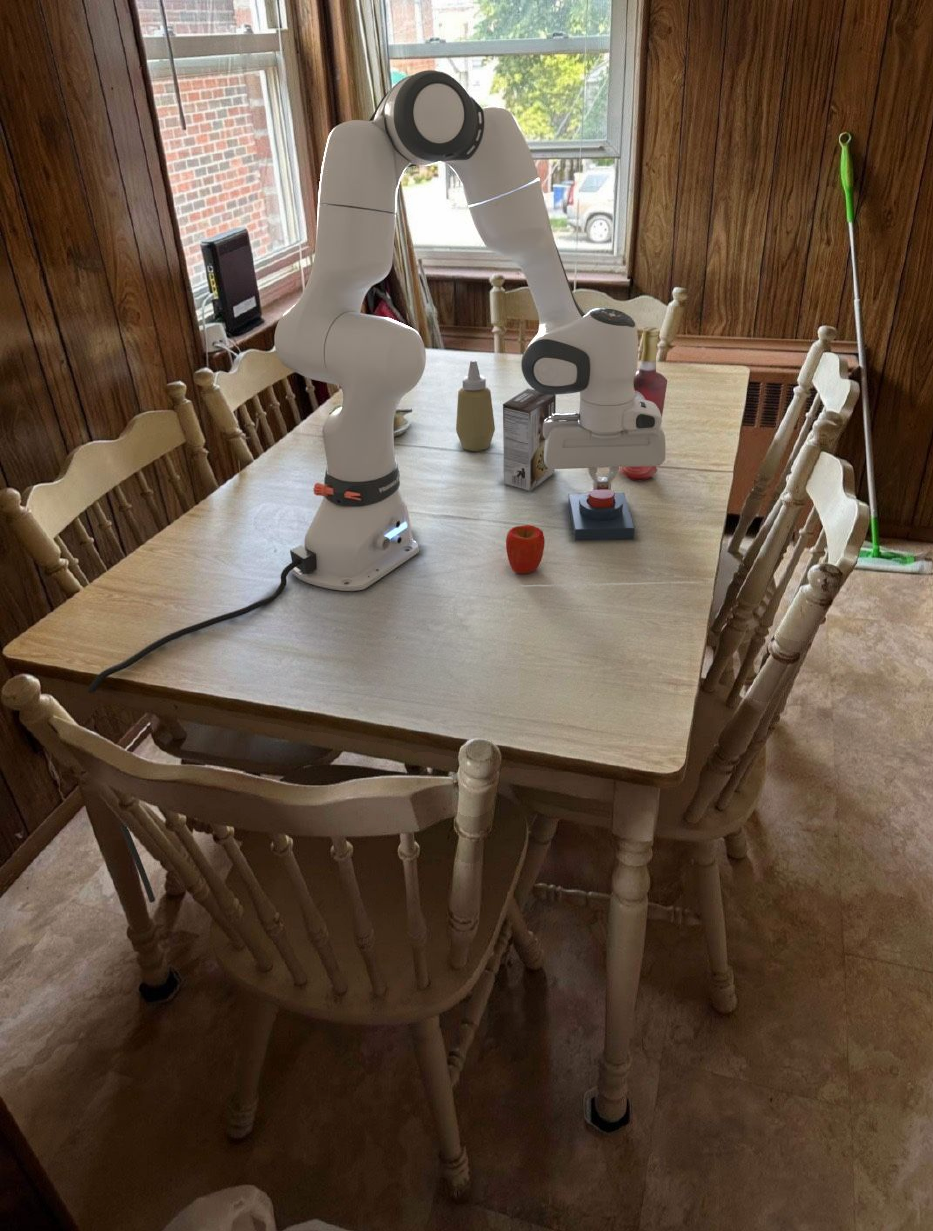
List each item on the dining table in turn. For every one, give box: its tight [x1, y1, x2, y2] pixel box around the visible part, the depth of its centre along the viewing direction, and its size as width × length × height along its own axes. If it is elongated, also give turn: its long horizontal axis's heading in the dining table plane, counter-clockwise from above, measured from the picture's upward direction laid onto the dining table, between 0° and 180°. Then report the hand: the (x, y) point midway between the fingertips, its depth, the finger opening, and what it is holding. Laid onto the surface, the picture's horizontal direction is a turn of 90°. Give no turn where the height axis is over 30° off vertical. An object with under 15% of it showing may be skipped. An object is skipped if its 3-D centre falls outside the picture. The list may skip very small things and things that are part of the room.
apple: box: [505, 524, 546, 575], centre depth 141 cm, size 6×6×8 cm
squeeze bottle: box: [455, 359, 496, 452], centre depth 178 cm, size 8×8×18 cm
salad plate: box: [328, 405, 413, 438], centre depth 191 cm, size 19×18×5 cm
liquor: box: [620, 326, 668, 482], centre depth 161 cm, size 7×7×28 cm
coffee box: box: [502, 388, 557, 492], centre depth 165 cm, size 9×6×16 cm
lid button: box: [588, 488, 615, 508], centre depth 152 cm, size 4×4×2 cm
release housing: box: [568, 492, 636, 541], centre depth 154 cm, size 13×10×4 cm
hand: (601, 488), depth 152 cm, fingers closed
